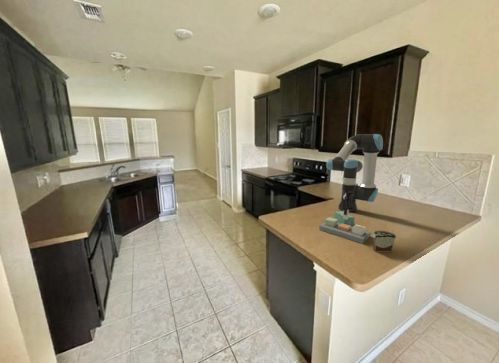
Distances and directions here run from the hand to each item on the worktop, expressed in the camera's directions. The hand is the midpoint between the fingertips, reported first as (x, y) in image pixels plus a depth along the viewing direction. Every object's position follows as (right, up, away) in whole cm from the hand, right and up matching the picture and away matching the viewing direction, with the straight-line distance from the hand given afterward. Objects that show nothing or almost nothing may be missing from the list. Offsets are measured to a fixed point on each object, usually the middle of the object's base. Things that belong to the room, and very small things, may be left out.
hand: (345, 218), depth 144 cm
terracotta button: (0, -9, +1) cm, 9 cm away
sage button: (-7, -5, +7) cm, 11 cm away
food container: (+12, -14, -18) cm, 26 cm away
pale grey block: (+6, -8, -5) cm, 11 cm away
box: (+6, -7, +17) cm, 20 cm away
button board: (0, -10, +2) cm, 10 cm away
